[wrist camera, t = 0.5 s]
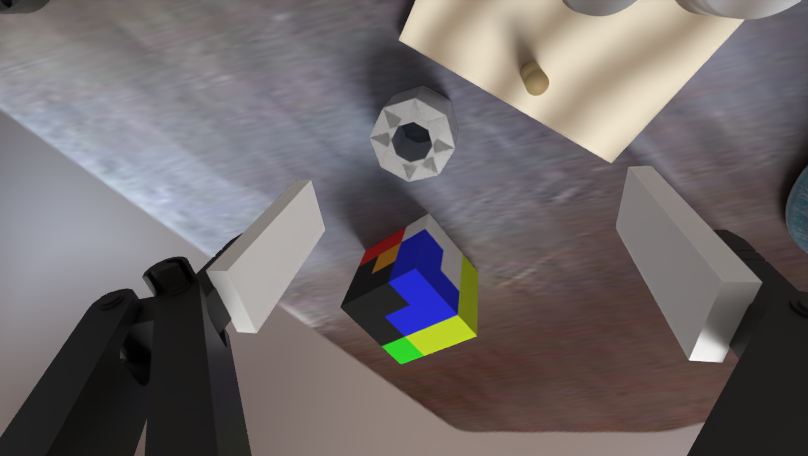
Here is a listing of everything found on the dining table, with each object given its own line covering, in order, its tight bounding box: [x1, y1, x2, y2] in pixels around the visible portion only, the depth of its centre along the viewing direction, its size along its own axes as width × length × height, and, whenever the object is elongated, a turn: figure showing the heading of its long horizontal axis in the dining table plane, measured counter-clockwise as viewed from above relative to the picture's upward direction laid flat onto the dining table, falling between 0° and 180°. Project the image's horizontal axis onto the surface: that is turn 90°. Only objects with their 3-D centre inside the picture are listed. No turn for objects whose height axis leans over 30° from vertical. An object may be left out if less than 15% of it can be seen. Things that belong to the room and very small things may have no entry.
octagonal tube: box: [370, 85, 458, 182], centre depth 34 cm, size 7×7×5 cm
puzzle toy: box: [340, 213, 478, 364], centre depth 41 cm, size 10×10×10 cm
